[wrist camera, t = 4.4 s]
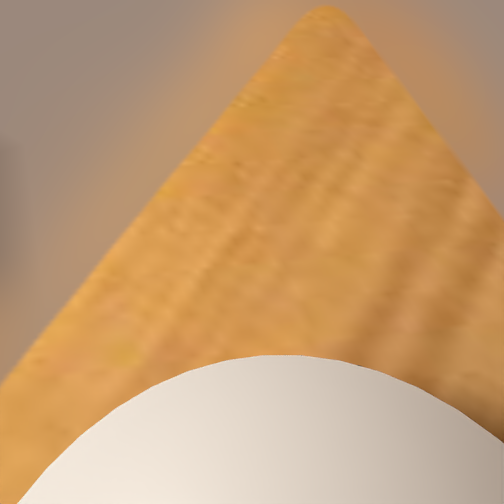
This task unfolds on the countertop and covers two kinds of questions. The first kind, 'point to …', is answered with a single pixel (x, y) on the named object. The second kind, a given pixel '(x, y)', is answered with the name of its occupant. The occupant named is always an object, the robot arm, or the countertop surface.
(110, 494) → the white cylinder
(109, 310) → the countertop surface
